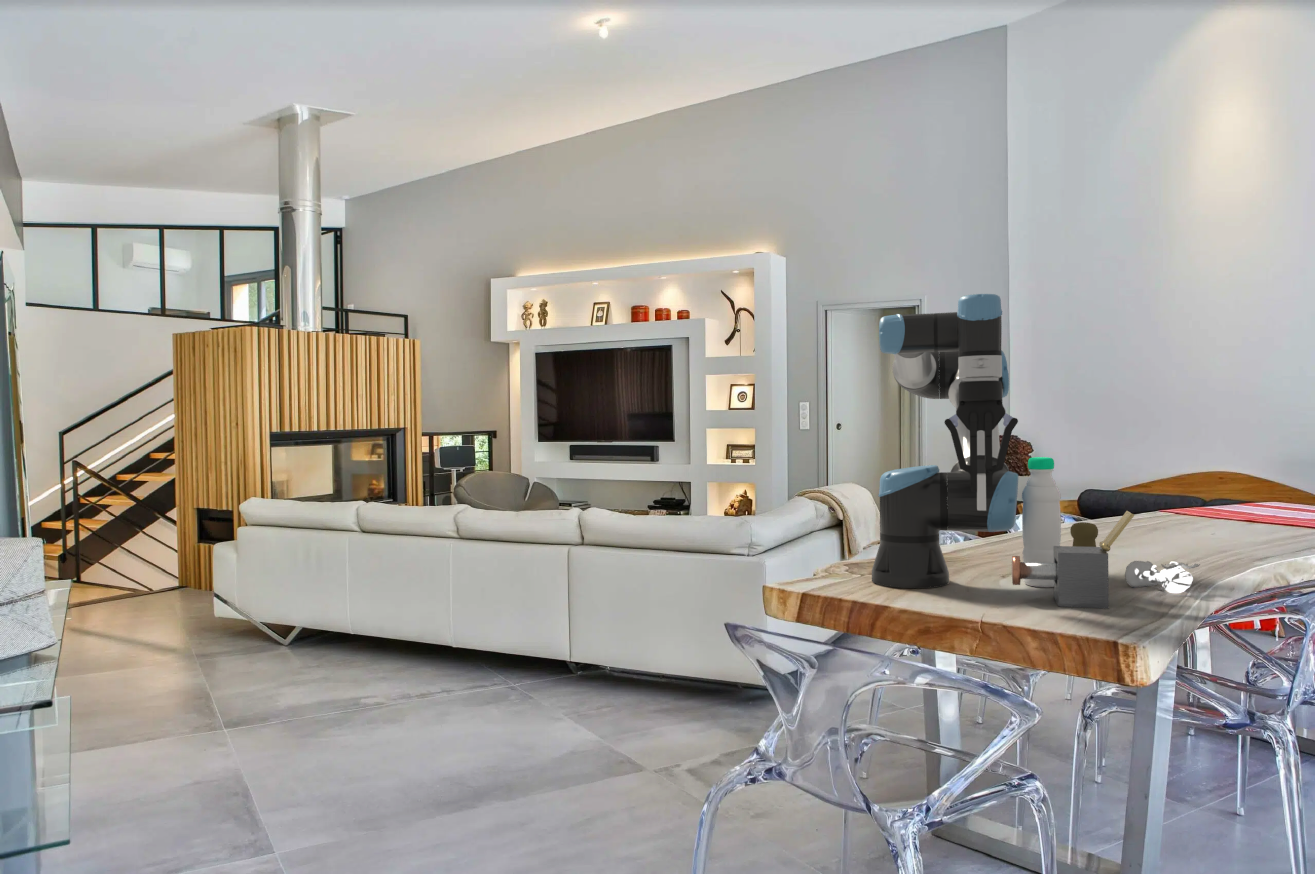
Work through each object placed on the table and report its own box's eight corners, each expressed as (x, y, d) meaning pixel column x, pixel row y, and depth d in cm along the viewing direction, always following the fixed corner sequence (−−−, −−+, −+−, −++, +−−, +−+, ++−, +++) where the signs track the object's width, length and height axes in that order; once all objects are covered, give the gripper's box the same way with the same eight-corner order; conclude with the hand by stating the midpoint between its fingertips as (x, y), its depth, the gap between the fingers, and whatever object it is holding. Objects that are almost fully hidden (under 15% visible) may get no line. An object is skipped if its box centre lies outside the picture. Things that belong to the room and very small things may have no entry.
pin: (1013, 587, 171) (1013, 558, 170) (1011, 581, 176) (1011, 553, 175) (1094, 589, 167) (1093, 560, 167) (1090, 584, 172) (1089, 555, 171)
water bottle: (1044, 589, 183) (1042, 458, 182) (1014, 583, 189) (1013, 457, 188) (1069, 585, 186) (1068, 457, 185) (1039, 580, 192) (1038, 456, 192)
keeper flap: (1107, 552, 166) (1101, 548, 166) (1103, 549, 170) (1097, 545, 171) (1136, 516, 165) (1129, 512, 165) (1131, 513, 169) (1125, 509, 169)
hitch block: (1058, 606, 167) (1058, 552, 167) (1054, 597, 175) (1053, 545, 175) (1108, 608, 165) (1108, 553, 165) (1101, 599, 172) (1101, 546, 172)
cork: (1104, 579, 192) (1103, 524, 191) (1072, 578, 193) (1071, 524, 193) (1096, 573, 198) (1096, 521, 197) (1065, 573, 199) (1065, 520, 199)
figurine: (1149, 560, 188) (1205, 557, 177) (1153, 593, 187) (1209, 592, 176) (1114, 561, 184) (1168, 558, 173) (1118, 594, 183) (1172, 594, 172)
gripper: (942, 380, 172) (944, 511, 172) (1019, 378, 168) (1021, 512, 169) (943, 381, 179) (944, 507, 180) (1017, 379, 175) (1018, 507, 176)
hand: (981, 509), depth 174 cm, fingers closed
